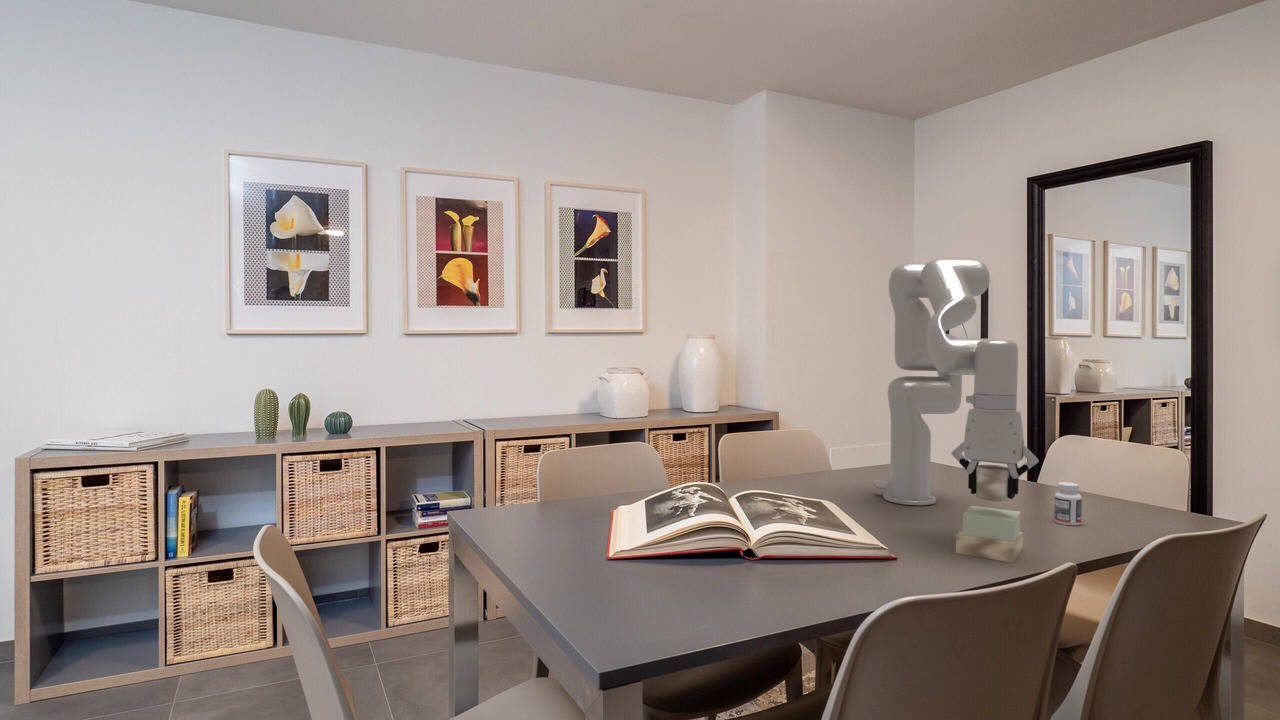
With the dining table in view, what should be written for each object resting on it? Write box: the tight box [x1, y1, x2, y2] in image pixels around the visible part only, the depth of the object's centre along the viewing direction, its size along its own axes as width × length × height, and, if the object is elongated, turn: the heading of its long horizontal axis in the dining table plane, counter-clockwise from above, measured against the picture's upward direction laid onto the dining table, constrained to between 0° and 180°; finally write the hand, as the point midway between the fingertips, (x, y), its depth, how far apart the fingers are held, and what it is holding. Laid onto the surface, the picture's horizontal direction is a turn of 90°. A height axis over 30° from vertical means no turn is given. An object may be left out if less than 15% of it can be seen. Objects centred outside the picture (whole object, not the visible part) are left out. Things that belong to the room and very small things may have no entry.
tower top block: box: [962, 504, 1021, 542], centre depth 143 cm, size 9×9×4 cm
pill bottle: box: [1053, 481, 1083, 526], centre depth 165 cm, size 5×5×9 cm
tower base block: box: [955, 528, 1024, 564], centre depth 143 cm, size 10×10×4 cm
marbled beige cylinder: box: [975, 464, 1011, 502], centre depth 143 cm, size 6×6×6 cm
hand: (992, 494), depth 143 cm, fingers closed on marbled beige cylinder, 6 cm apart
